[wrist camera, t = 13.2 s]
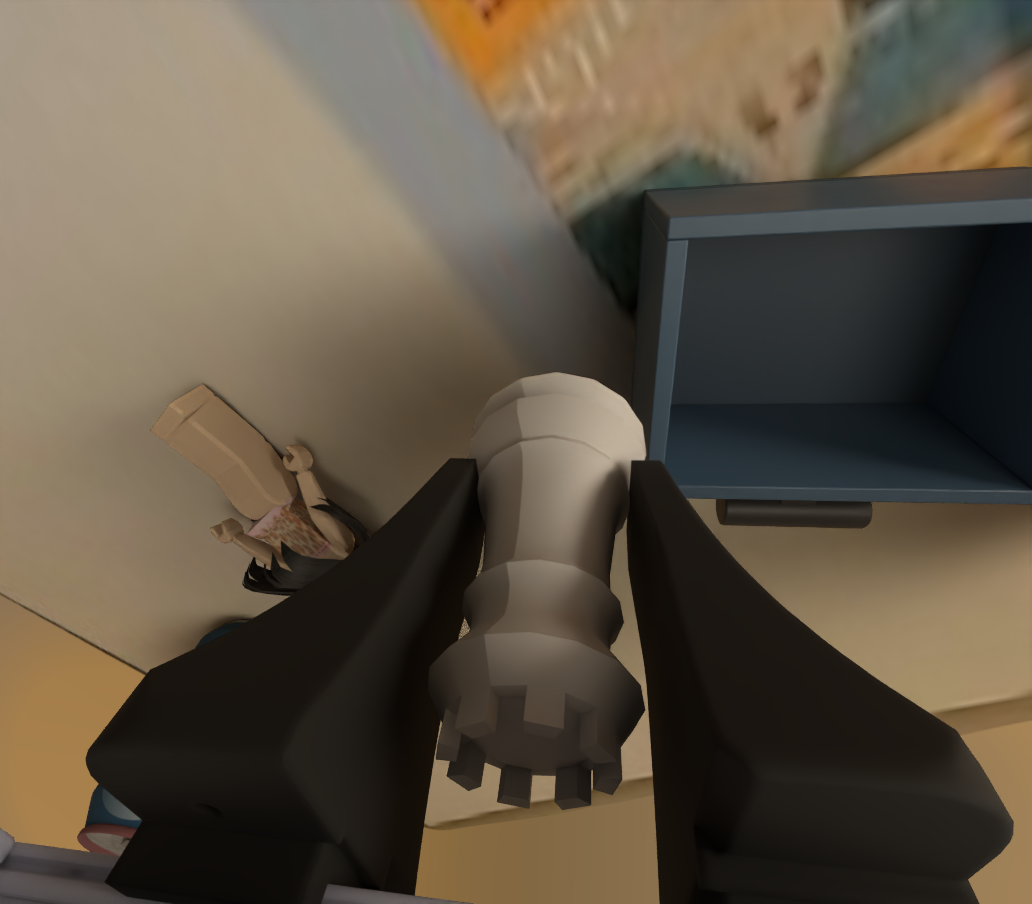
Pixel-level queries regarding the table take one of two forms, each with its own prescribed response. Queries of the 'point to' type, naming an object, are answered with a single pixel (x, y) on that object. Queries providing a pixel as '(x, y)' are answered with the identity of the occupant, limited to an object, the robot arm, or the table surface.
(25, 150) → the table surface
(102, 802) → the soda can
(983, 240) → the basket
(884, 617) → the table surface
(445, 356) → the table surface
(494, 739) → the rook chess piece
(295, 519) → the toy figure
